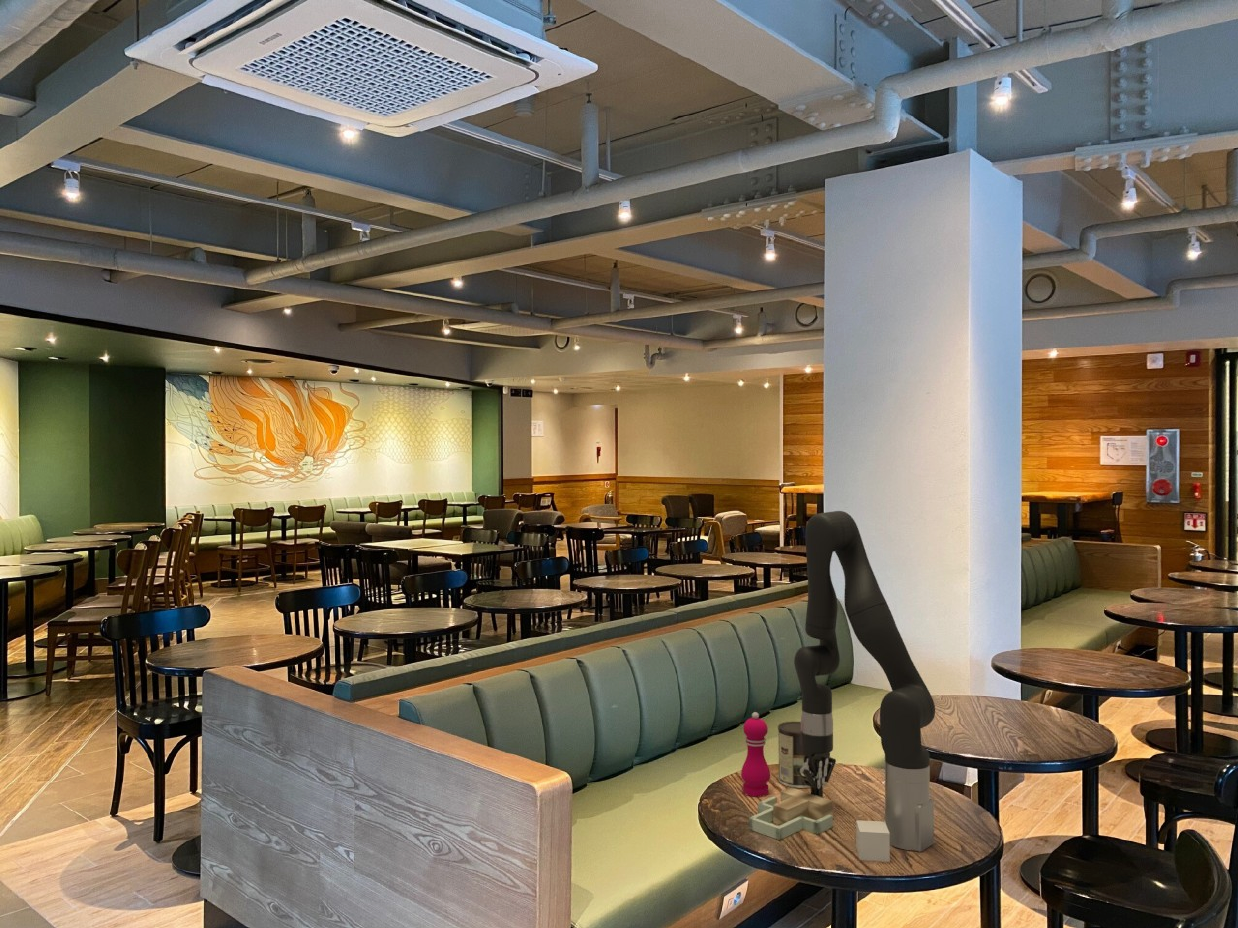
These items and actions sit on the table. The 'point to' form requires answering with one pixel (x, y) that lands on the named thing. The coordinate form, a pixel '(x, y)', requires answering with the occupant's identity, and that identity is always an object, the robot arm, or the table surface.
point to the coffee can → (790, 754)
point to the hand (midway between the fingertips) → (816, 802)
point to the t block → (800, 806)
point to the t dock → (779, 832)
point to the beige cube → (872, 841)
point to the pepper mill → (755, 758)
